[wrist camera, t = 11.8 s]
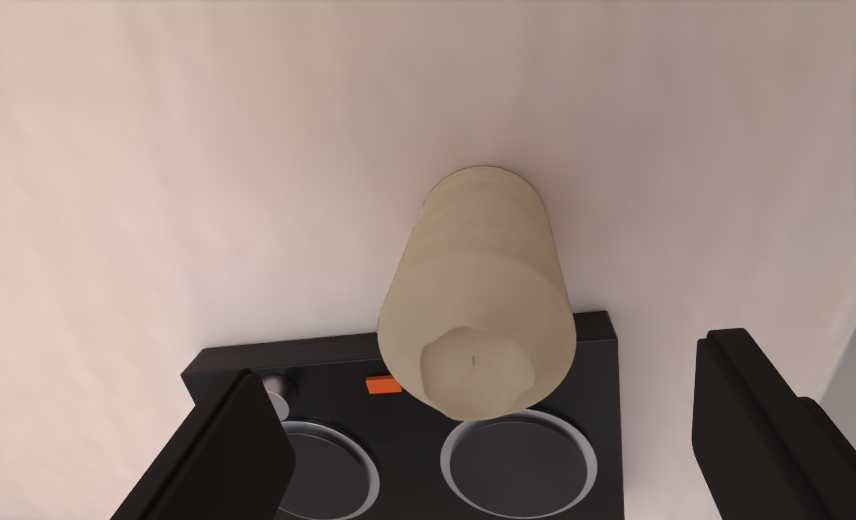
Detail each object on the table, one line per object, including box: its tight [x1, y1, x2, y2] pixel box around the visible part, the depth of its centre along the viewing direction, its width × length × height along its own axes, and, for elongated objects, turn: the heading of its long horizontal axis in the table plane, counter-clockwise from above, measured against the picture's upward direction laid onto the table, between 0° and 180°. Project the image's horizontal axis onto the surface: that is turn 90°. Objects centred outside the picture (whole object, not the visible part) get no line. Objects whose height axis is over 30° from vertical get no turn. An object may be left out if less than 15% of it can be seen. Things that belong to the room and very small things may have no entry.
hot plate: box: [181, 311, 625, 520], centre depth 25 cm, size 12×21×3 cm, turn 101°
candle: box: [377, 166, 576, 421], centre depth 17 cm, size 6×6×10 cm
